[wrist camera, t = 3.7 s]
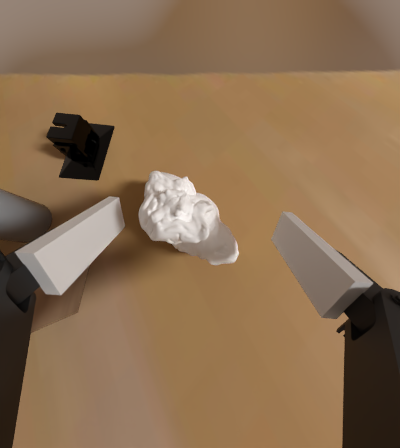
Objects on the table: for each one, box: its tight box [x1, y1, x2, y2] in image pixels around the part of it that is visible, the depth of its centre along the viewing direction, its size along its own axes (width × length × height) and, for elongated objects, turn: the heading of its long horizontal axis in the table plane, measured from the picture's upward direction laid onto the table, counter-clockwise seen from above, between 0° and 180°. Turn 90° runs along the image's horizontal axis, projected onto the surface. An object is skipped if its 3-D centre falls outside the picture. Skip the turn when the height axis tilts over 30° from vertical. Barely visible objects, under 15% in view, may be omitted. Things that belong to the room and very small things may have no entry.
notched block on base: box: [46, 113, 114, 180], centre depth 19 cm, size 12×7×5 cm, turn 175°
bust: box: [139, 171, 239, 265], centre depth 14 cm, size 12×8×11 cm
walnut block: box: [31, 265, 90, 333], centre depth 13 cm, size 5×5×8 cm
